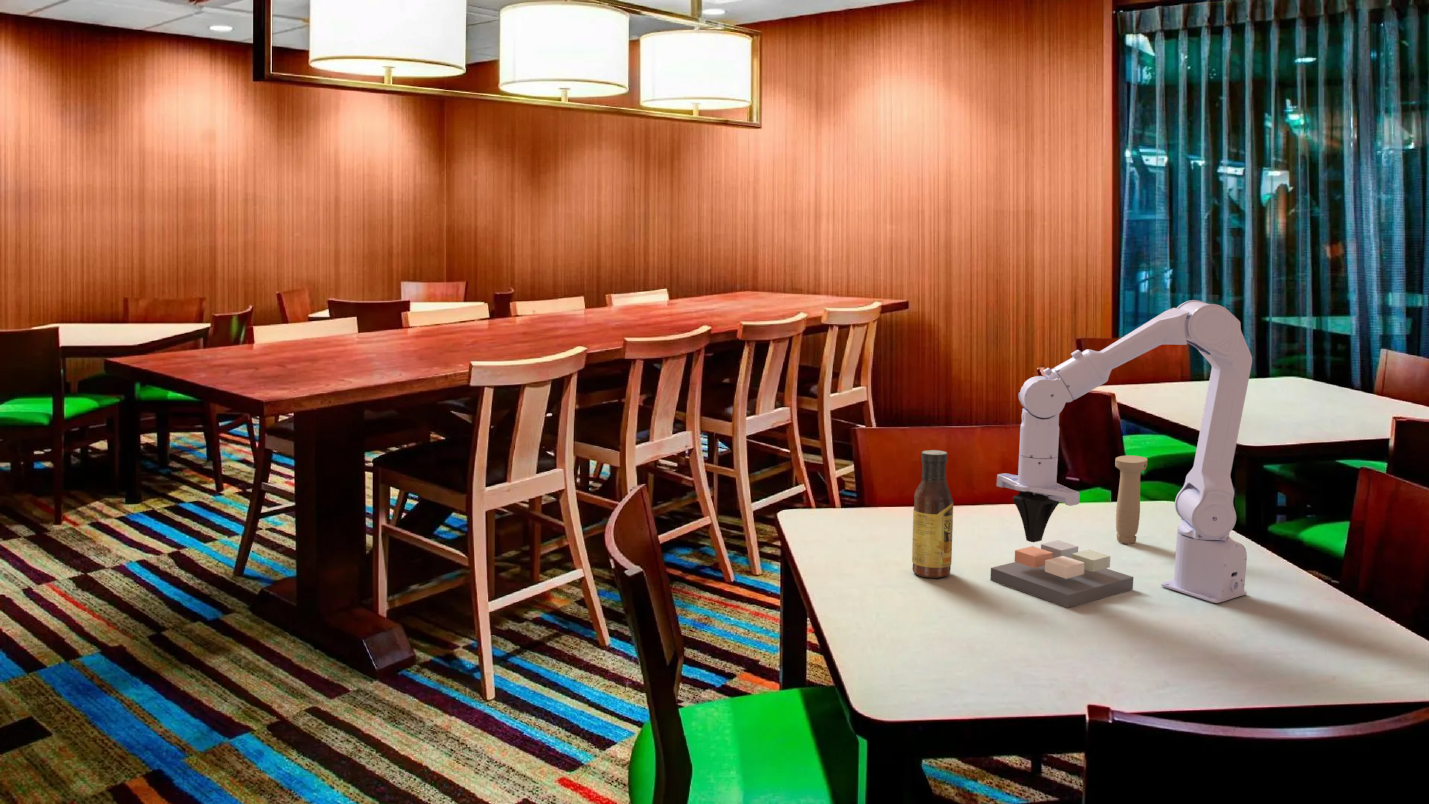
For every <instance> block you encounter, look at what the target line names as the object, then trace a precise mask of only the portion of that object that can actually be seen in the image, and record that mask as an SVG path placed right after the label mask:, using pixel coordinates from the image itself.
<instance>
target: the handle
mask: <svg viewBox="0 0 1429 804" xmlns="http://www.w3.org/2000/svg"><path fill="white" fill-rule="evenodd" d="M1114 464H1115V465H1114V466H1115V468H1117V469H1118V470H1119V476H1120V477H1119V486H1118V492H1117V493H1118V494H1117V501H1116V507H1115V508H1116V509H1115V512H1116V513H1115V528H1116V529H1115V531H1116V540H1117V541H1118V543H1120V544H1125V545H1131V544H1132V545H1133V544H1136V541H1137V536H1136V535H1137V534H1138V531H1139V525H1140V517H1141V515H1140V514H1141V474H1142V472H1143V471H1146V469H1147V467H1148V458H1147V457H1144V456H1139V455H1130V454H1129V455H1127V454H1126V455H1120V456H1117V457H1115V463H1114Z"/></svg>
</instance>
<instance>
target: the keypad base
mask: <svg viewBox="0 0 1429 804" xmlns="http://www.w3.org/2000/svg"><path fill="white" fill-rule="evenodd" d="M989 580H990V581H992V582H995V583H997V584H999V585H1003V586H1006V587H1008V588H1011V589H1013V590H1016V591H1020V592H1022V593H1026V594H1028V595H1029V596H1033V597H1036V598H1039V599H1042V600H1044V601H1046V602H1050V603H1051V604H1052V603H1053V604H1055V605H1058V606H1061V607H1063V608H1066V609H1069V608H1072V607H1076V606H1080V605H1083V604H1087V603H1090V602H1093V601H1097V600H1101V599H1104V598H1108V597H1111V596H1114V595H1118V594H1123V593H1125V592H1129V591H1133V590H1134V576H1132V575H1128V574H1125V573H1122V572H1119V571H1115V570H1113V569H1109V568H1105V569H1102V570H1098V571H1094V572H1092V571H1089V570H1085V569H1084V574H1083V575H1079V576H1075V577H1071V578H1067V579H1065V578H1062V577H1059V576H1056V575H1053V574H1051V573H1048V572H1045V566H1041V567H1037V568H1033V567H1030V566H1027V565H1024V564H1021V563H1018V562H1015V561H1013V562H1008V563H1006V564H1002V565H997V566H991V567H990V578H989Z"/></svg>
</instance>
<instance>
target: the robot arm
mask: <svg viewBox="0 0 1429 804" xmlns="http://www.w3.org/2000/svg"><path fill="white" fill-rule="evenodd" d="M1188 344H1189V345H1190V346H1192V347H1194V348H1195V349H1196V350H1198V352H1199V353H1200V354H1201V355H1202V356H1203V358H1204V359H1205V360H1206V361H1207V362H1208V363H1209V364H1210V366H1211V370H1210V377H1209V381H1208V385H1207V386H1208V387H1207V391H1206V397H1205V403H1204V408H1203V414H1202V419H1201V423H1200V424H1201V425H1200V429H1199V433H1198V434H1199V435H1198V438H1197V440H1198V441H1197V446H1196V450H1195V456H1194V461H1193V466H1192V468H1191V469H1190V471H1188V473H1187V474H1186V476H1185V480H1184V483H1183V486H1182V487H1181V488H1180V491H1178V493H1177V495H1176V497H1175V501H1174V509H1175V512H1176V513H1177V515H1178V516H1179V518H1181V519H1180V520H1181V521H1180V523H1179V524H1178V526H1177V531H1176V532H1177V533H1176V543H1175V544H1176V547H1175V559H1174V560H1175V561H1174V574H1173V579H1170V580H1168V581H1163V582H1161V583H1160V585H1161V587H1163V588H1166V589H1170V590H1173V591H1176V592H1178V593H1183V594H1185V595H1188V596H1190V597H1194V598H1198V599H1200V600H1205V601H1207V602H1209V603H1214V604H1220V603H1223V602H1225V601H1228V600H1232V599H1235V598H1238V597H1241V596H1245V595H1247V594H1248V590H1245V585H1246V572H1247V559H1248V555H1247V554H1248V553H1247V550H1246V547H1245V546H1244V544H1243V543H1240V542H1238V541H1235V540H1233V539H1232V537H1231V536H1230V533H1231V531H1232V530H1233V529H1234V527H1235V525H1236V522H1237V514H1236V513H1237V512H1236V510H1235V507H1234V498H1235V497H1234V496H1235V490H1234V485H1233V482H1232V478H1231V473H1232V469H1233V464H1234V463H1233V462H1234V458H1235V453H1236V448H1237V444H1238V443H1237V441H1238V438H1239V437H1238V436H1239V431H1240V428H1241V427H1240V426H1241V421H1242V417H1243V411H1244V406H1245V401H1246V397H1247V396H1246V395H1247V390H1248V386H1249V381H1250V375H1251V370H1252V364H1253V356H1252V354H1251V351H1250V348H1249V346H1248V344H1247V341H1246V339H1245V336H1244V335H1243V332H1242V329H1241V321H1240V320H1239V319H1238V318H1237V317H1236V316H1235V315H1234V314H1233V313H1231V311H1230V310H1228V309H1227V308H1226V307H1225V306H1222V305H1219V304H1216V303H1207V302H1205V301H1202V300H1198V299H1196V300H1195V299H1192V300H1187V301H1185V302H1183V303H1181V304H1179V305H1178V306H1177V307H1172V308H1169V309H1167V310H1165V311H1163V312H1162V313H1160V314H1158V315H1157V316H1155V317H1153V318H1152V319H1150V320H1149V321H1147V322H1145V323H1143V324H1142V325H1140V326H1138V327H1137V328H1135V329H1134V330H1132V331H1131V332H1129V333H1127V334H1126V335H1123V337H1121V338H1119V339H1118V340H1116V341H1115V342H1113V343H1111V344H1109V345H1108V346H1106V347H1105V348H1103V349H1101V350H1099V351H1097V350H1093V349H1085V350H1083V351H1081V350H1079V349H1076V350H1074V351H1073V352H1071V353H1070V355H1071V356H1072V357H1070V358H1069V359H1067V360H1065V361H1063V362H1062V363H1060V364H1058V365H1056V366H1055V367H1053V368H1050V367H1046V368H1045V369H1043V370H1042V372H1043V374H1044V375H1043V376H1042V375H1036V376H1033V377H1030V378H1028V379H1027V380H1025V381H1024V383H1023V385H1022V386H1021V388H1020V392H1018V400H1019V403H1020V404H1021V406H1022V407H1023V408H1022V409H1021V410H1022V412H1021V423H1020V427H1019V429H1020V430H1019V449H1018V450H1019V451H1018V467H1017V468H1018V471H1017V474H1018V475H1017V474H1011V473H1006V472H1005V473H999V474H997V475H996V487H999V488H1007V489H1010V490H1014V491H1018V493H1017V495H1013V496H1012V501H1013V503H1014V505H1015V507H1016V508H1017V511H1018V512H1019V516H1020V518H1021V521H1022V525H1023V529H1024V535H1025V539H1026V540H1025V541H1027V542H1030V543H1037V542H1041V541H1043V540H1042V539H1043V536H1044V533H1045V530H1046V528H1047V524H1048V522H1049V520H1050V518H1051V516H1052V514H1053V513H1054V511H1055V509H1056V508H1057V507H1058V505H1059V503H1063V504H1065V505H1066V506H1070V507H1071V506H1077V505H1079V503H1080V491H1078V490H1074V489H1071V488H1069V487H1067V486H1064V485H1062V484H1060V483H1058V482H1057V478H1058V477H1057V476H1058V461H1059V441H1060V439H1059V438H1060V426H1059V424H1060V423H1059V422H1060V413H1061V412H1062V411H1063V409H1064V408H1065V405H1066V403H1071V402H1073V401H1074V400H1078V398H1081V397H1082V396H1084V395H1086V394H1087V393H1089V392H1091V391H1093V390H1095V389H1097V388H1099V387H1100V386H1101V385H1104V384H1105V383H1107V382H1108V381H1109V377H1110V375H1111V372H1112V370H1113V369H1116V368H1118V367H1120V366H1121V365H1124V364H1126V363H1128V362H1130V361H1131V360H1134V359H1135V358H1138V357H1140V356H1142V355H1144V354H1145V353H1147V352H1148V353H1149V352H1150V351H1152V350H1154V349H1156V348H1158V347H1159V346H1161V345H1162V346H1163V345H1170V346H1171V345H1172V346H1173V345H1174V346H1175V345H1177V346H1179V345H1180V346H1184V345H1185V346H1187V345H1188Z"/></svg>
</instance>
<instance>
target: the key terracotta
mask: <svg viewBox="0 0 1429 804" xmlns="http://www.w3.org/2000/svg"><path fill="white" fill-rule="evenodd" d="M1052 557H1053V552H1049V551H1046V550H1043V549H1041V547H1036V546H1033V545H1032V546H1027V547H1023V548H1020V549H1015V550H1014V562H1018V563H1021V564H1024V565H1027V566H1030V567H1033V568H1037V567H1041V566H1045V560H1048V559H1052Z"/></svg>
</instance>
